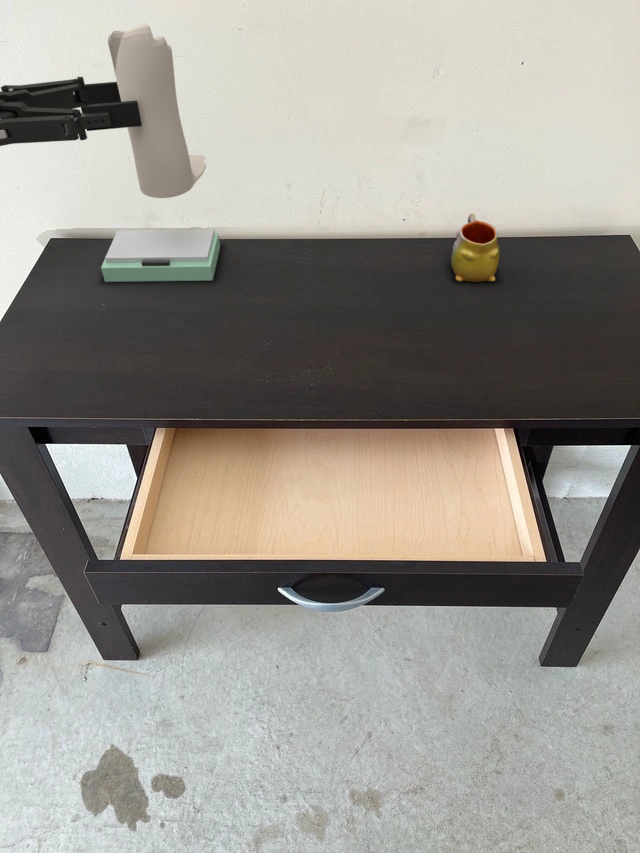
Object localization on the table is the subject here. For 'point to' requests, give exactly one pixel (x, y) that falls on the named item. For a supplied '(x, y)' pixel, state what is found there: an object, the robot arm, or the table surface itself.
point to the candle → (154, 113)
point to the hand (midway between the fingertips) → (139, 102)
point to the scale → (162, 256)
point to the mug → (475, 252)
